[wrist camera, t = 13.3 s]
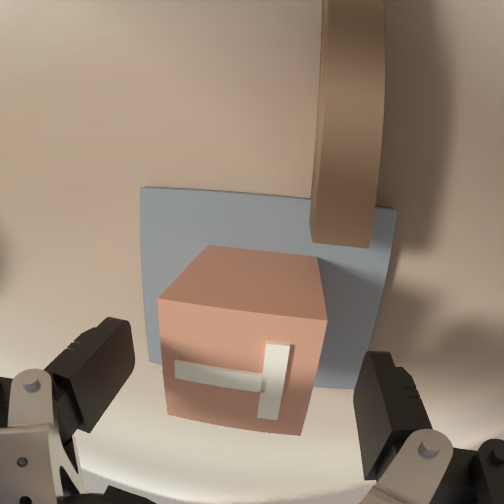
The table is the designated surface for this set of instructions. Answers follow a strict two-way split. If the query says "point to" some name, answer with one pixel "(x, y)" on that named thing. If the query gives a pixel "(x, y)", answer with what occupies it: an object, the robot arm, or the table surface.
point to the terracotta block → (243, 339)
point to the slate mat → (274, 240)
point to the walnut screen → (348, 122)
